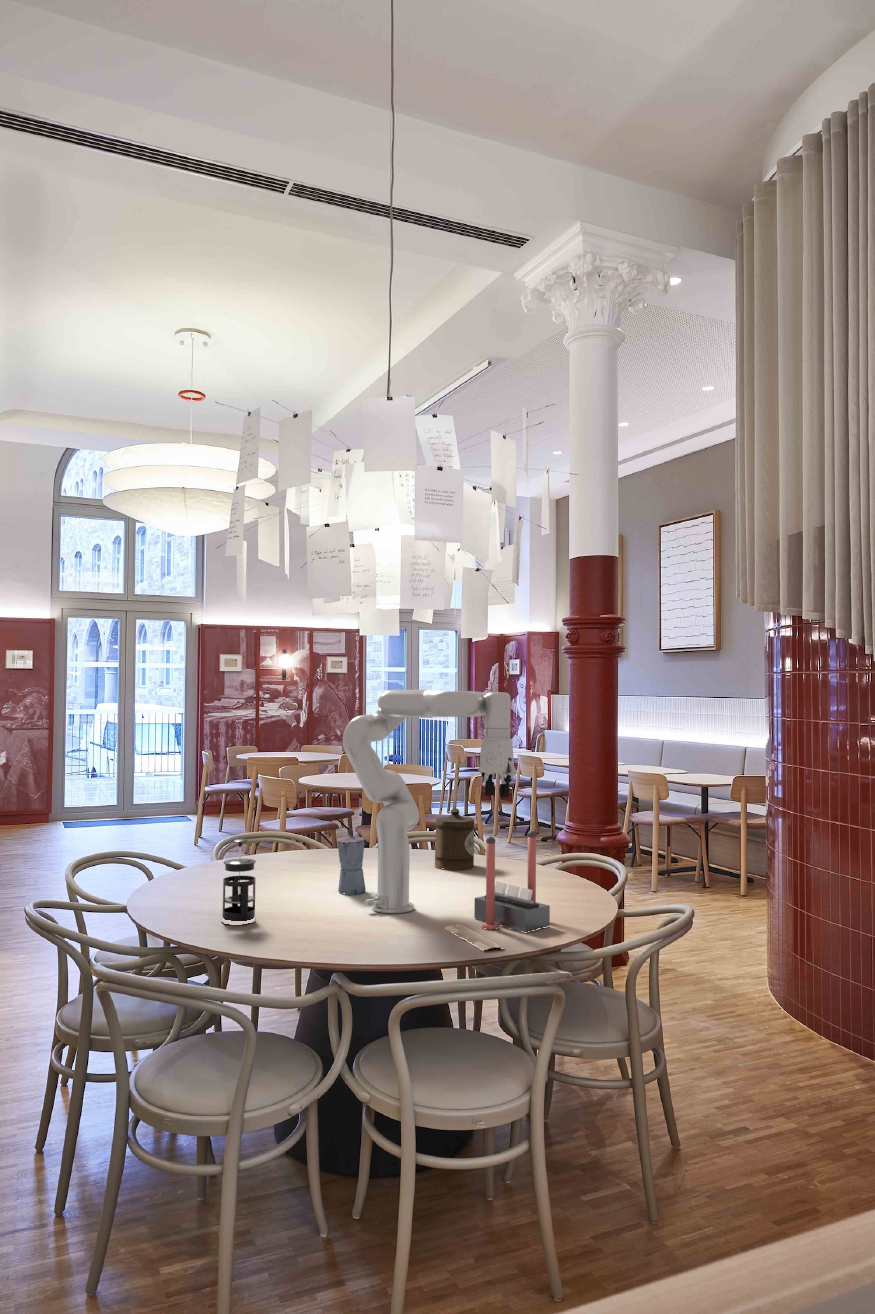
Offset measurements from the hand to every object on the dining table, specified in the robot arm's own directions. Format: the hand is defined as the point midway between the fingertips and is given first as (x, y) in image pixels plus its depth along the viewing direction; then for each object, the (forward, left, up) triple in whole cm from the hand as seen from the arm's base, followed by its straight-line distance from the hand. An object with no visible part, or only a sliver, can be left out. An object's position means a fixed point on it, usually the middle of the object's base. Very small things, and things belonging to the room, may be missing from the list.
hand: (497, 795), depth 250 cm
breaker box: (0, -6, -35) cm, 36 cm away
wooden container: (+43, +65, -36) cm, 86 cm away
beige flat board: (-20, -11, -36) cm, 43 cm away
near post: (-9, -6, -35) cm, 37 cm away
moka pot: (-12, +55, -36) cm, 67 cm away
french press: (-59, +44, -36) cm, 82 cm away
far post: (+8, -6, -35) cm, 37 cm away
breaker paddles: (0, -6, -28) cm, 29 cm away
